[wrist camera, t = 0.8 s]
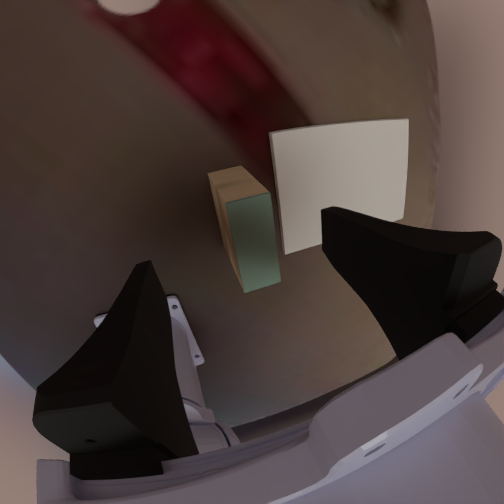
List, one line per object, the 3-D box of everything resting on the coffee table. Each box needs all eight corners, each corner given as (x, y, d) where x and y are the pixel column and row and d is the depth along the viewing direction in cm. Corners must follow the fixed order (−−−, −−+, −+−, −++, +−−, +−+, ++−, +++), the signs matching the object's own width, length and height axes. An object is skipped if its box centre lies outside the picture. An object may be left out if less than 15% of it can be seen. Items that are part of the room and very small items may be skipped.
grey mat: (399, 215, 27) (402, 218, 26) (282, 251, 25) (285, 254, 24) (403, 118, 21) (408, 119, 21) (268, 132, 19) (271, 133, 19)
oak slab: (253, 237, 23) (280, 281, 18) (223, 245, 23) (244, 293, 18) (240, 165, 20) (270, 192, 15) (207, 173, 20) (225, 204, 15)
